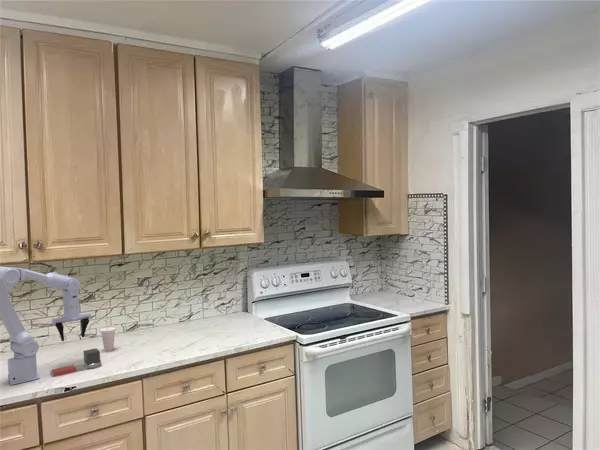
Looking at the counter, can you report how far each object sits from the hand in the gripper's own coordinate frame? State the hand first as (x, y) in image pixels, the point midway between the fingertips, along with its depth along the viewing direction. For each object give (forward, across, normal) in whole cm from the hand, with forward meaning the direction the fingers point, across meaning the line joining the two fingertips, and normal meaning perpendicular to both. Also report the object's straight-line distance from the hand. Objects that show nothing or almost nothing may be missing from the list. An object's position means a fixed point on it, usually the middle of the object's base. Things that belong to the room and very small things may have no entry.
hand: (72, 338), depth 192 cm
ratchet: (+10, -1, -9) cm, 14 cm away
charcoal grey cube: (+9, +5, -9) cm, 13 cm away
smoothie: (+11, +16, +8) cm, 21 cm away
